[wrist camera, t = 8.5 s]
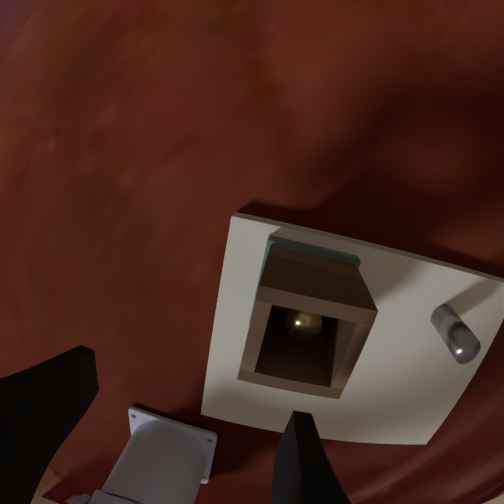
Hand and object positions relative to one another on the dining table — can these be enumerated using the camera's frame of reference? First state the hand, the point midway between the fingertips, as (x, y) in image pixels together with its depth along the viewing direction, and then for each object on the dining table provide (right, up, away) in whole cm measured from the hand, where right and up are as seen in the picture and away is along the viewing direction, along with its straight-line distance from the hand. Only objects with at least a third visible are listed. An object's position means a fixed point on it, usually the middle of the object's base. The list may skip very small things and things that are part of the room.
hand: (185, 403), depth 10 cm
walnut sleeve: (+5, +3, +7) cm, 9 cm away
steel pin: (+14, +1, +7) cm, 15 cm away
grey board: (+9, -2, +10) cm, 13 cm away
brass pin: (+5, +3, +7) cm, 10 cm away
